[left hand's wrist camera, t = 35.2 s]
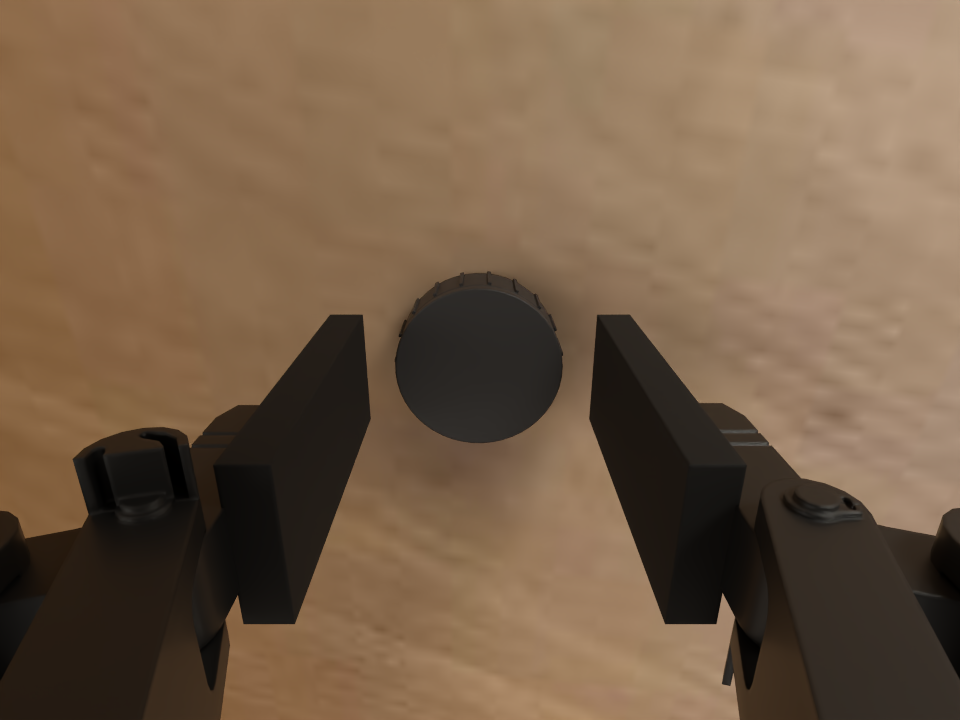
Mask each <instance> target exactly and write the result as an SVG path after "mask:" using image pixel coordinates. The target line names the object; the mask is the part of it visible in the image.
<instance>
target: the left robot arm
mask: <svg viewBox="0 0 960 720" xmlns="http://www.w3.org/2000/svg"><path fill="white" fill-rule="evenodd" d="M370 419H371V417H370V404H369V391H368V378H367V365H366V352H365V339H364V326H363V315H330V316H329V317H328V318H327V320H326V321H325V322H324V323H323V325H322V326H321V327H320V329H319V330H318V331H317V332H316V334H315V335H314V336H313V338H312V339H311V340H310V341H309V343H308V344H307V345H306V346H305V348H304V349H303V350H302V352H301V353H300V354H299V355H298V357H297V358H296V359H295V361H294V362H293V363H292V364H291V366H290V367H289V368H288V370H287V371H286V372H285V373H284V375H283V376H282V377H281V378H280V380H279V381H278V382H277V384H276V385H275V386H274V387H273V389H272V390H271V391H270V393H269V394H268V395H267V396H266V398H265V399H264V400H263V402H262V403H261V404H260V405H238V406H236V407H234V408H232V409H231V410H229V411H227V412H225V413H223V414H222V415H220V416H218V417H216V418H215V419H214V420H213V422H212V423H211V424H210V425H209V426H208V427H207V428H206V429H205V430H204V432H203V435H200V436H199V437H198V438H197V439H196V441H195V442H194V443H193V444H192V448H190V447H189V442H188V437H187V435H185V434H184V433H182V432H181V431H179V430H176V429H170V428H165V427H155V428H141V429H136V430H130V431H125V432H121V433H118V434H115V435H112V436H109V437H106V438H104V439H101V440H99V441H97V442H95V443H93V444H92V445H90V446H88V447H86V448H84V449H83V450H82V451H81V452H80V453H79V454H78V455H77V456H76V457H75V458H73V462H74V466H75V469H76V472H77V476H78V479H79V483H80V486H81V489H82V493H83V496H84V500H85V503H86V507H87V510H88V513H89V515H88V517H87V519H86V521H85V523H84V525H83V527H82V528H78V529H74V530H68V531H63V532H58V533H52V534H47V535H42V536H36V537H31V538H26V539H25V537H24V534H23V532H22V529H21V526H20V523H19V520H18V518H17V517H16V516H14V515H13V514H11V513H10V512H7V511H0V720H220V718H221V710H222V702H223V694H224V687H225V679H226V671H227V663H228V656H229V648H230V643H229V636H228V630H227V626H226V621H225V619H226V617H227V615H228V613H229V611H230V609H231V607H232V605H233V603H234V601H235V599H236V597H237V595H238V598H239V603H240V608H241V613H242V618H243V623H244V624H295V622H296V619H297V617H298V614H299V611H300V609H301V606H302V603H303V601H304V598H305V595H306V592H307V590H308V587H309V584H310V582H311V579H312V576H313V573H314V571H315V568H316V565H317V563H318V560H319V557H320V555H321V552H322V549H323V546H324V544H325V541H326V538H327V536H328V533H329V530H330V527H331V525H332V522H333V519H334V517H335V514H336V511H337V509H338V506H339V503H340V500H341V498H342V495H343V492H344V490H345V487H346V484H347V481H348V479H349V476H350V473H351V471H352V468H353V465H354V463H355V460H356V457H357V454H358V452H359V449H360V446H361V444H362V441H363V438H364V435H365V433H366V430H367V427H368V425H369V422H370ZM589 419H590V422H591V425H592V427H593V430H594V433H595V436H596V438H597V441H598V444H599V446H600V449H601V452H602V454H603V457H604V460H605V463H606V465H607V468H608V471H609V473H610V476H611V479H612V482H613V484H614V487H615V490H616V492H617V495H618V498H619V500H620V503H621V506H622V509H623V511H624V514H625V517H626V519H627V522H628V525H629V527H630V530H631V533H632V536H633V538H634V541H635V544H636V546H637V549H638V552H639V555H640V557H641V560H642V563H643V565H644V568H645V571H646V573H647V576H648V579H649V582H650V584H651V587H652V590H653V592H654V595H655V598H656V601H657V603H658V606H659V609H660V611H661V614H662V617H663V619H664V622H665V624H716V623H717V618H718V613H719V608H720V603H721V598H722V592H723V594H724V596H725V598H726V600H727V602H728V604H729V606H730V608H731V610H732V612H733V614H734V616H735V621H734V626H733V630H732V635H731V640H730V645H729V650H728V654H727V659H726V664H725V669H724V675H723V681H722V684H724V685H728V686H730V685H731V680H732V676H733V673H734V677H735V685H736V693H737V701H738V708H739V716H740V720H960V508H956V509H952V510H950V511H949V512H947V513H946V514H944V515H943V517H942V520H941V523H940V526H939V529H938V531H937V534H936V536H933V535H928V534H922V533H917V532H912V531H906V530H901V529H896V528H890V527H885V526H881V525H877V524H876V522H875V520H874V518H873V516H872V514H871V513H870V512H869V511H868V509H867V508H866V507H865V506H864V505H863V504H862V503H861V502H860V501H859V500H857V499H856V498H854V497H852V496H851V495H849V494H848V493H846V492H845V491H842V490H840V489H837V488H835V487H832V486H830V485H828V484H825V483H821V482H816V481H812V480H808V479H801V478H800V477H799V476H798V474H797V473H796V472H795V471H794V470H793V469H792V468H791V467H790V466H789V464H788V463H787V462H786V461H785V460H784V459H783V458H782V457H781V456H780V454H779V453H778V452H777V451H776V450H775V449H774V448H773V447H772V446H769V442H768V441H767V440H766V439H765V438H764V437H763V436H762V435H761V433H758V430H757V429H756V428H755V427H754V426H753V425H752V424H751V422H750V421H749V420H748V419H747V418H746V417H745V416H744V415H742V414H740V413H739V412H737V411H735V410H733V409H732V408H730V407H728V406H726V405H724V404H723V403H698V402H697V400H696V399H695V398H694V396H693V395H692V394H691V393H690V391H689V390H688V389H687V387H686V386H685V385H684V384H683V382H682V381H681V380H680V379H679V377H678V376H677V375H676V373H675V372H674V371H673V370H672V368H671V367H670V366H669V364H668V363H667V362H666V361H665V359H664V358H663V357H662V355H661V354H660V353H659V352H658V350H657V349H656V348H655V346H654V345H653V344H652V343H651V341H650V340H649V339H648V338H647V336H646V335H645V334H644V332H643V331H642V330H641V329H640V327H639V326H638V325H637V323H636V322H635V321H634V320H633V318H632V317H631V316H630V315H597V325H596V338H595V352H594V365H593V378H592V391H591V404H590V417H589Z"/></svg>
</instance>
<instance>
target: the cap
mask: <svg viewBox="0 0 960 720" xmlns="http://www.w3.org/2000/svg"><path fill="white" fill-rule="evenodd" d="M556 330H557V329H556V327H555V324H554V321H553V319H552V316H551V314H549V315H548V313H547V312H546V310H545V308H544V307H543V305H542V304H541V303H540V301H539V298H538V295H537V294H534V295H533V294H532V293H531V292H530V291H528V290H527V289H526V288H525V287H523V286H521V285H520V284H518V283H517V280H516V279H513V281H512V280H510V279H508V278H505V277H501V276H498V275H492V274H491V272H487V274H484V273H474V274H465V275H464V272H463V273H460V276H456V277H453V278H451V279H448V280H445V281H444V282H442V283H439V282H437V283H436V284H435V287H433V288H432V289H431V290H429V291H428V292H427V293H426V294H425V295H424V296H423V297H422V298H421V299H417V300H416V302H415V305H414V308H413V310H412V312H411V313H410V315H409V318H408V320H405V321H404V323H403V326H402V329H401V331H400V334H399V337H401V339H400V341H399V345H398V349H397V352H396V357H395V368H396V378H397V383H398V386H399V389H400V392H401V395H402V397H403V399H404V401H405V402H406V404H407V405H408V407H409V409H410V410H411V411H412V412H413V413H414V415H415V416H416V417H417V418H418V419H419V420H420V421H421V422H423V423H424V424H425V425H426V426H428V427H429V428H430V429H432V430H433V431H435V432H437V433H439V434H441V435H443V436H446V437H448V438H451V439H455V440H458V441H463V442H470V443H487V442H495V441H500V440H504V439H507V438H510V437H513V436H515V435H517V434H519V433H521V432H523V431H524V430H526V429H527V428H529V427H531V426H532V425H533V424H534V423H535V422H537V421H538V420H539V419H540V418H541V417H542V416H543V415H544V414H545V412H546V411H547V410H548V408H549V407H550V406H551V404H552V402H553V400H554V398H555V397H556V394H557V392H558V389H559V386H560V382H561V378H562V368H563V364H562V356H563V352H562V349H561V347H560V344H559V341H558V338H557V337H556V334H555V331H556Z"/></svg>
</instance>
